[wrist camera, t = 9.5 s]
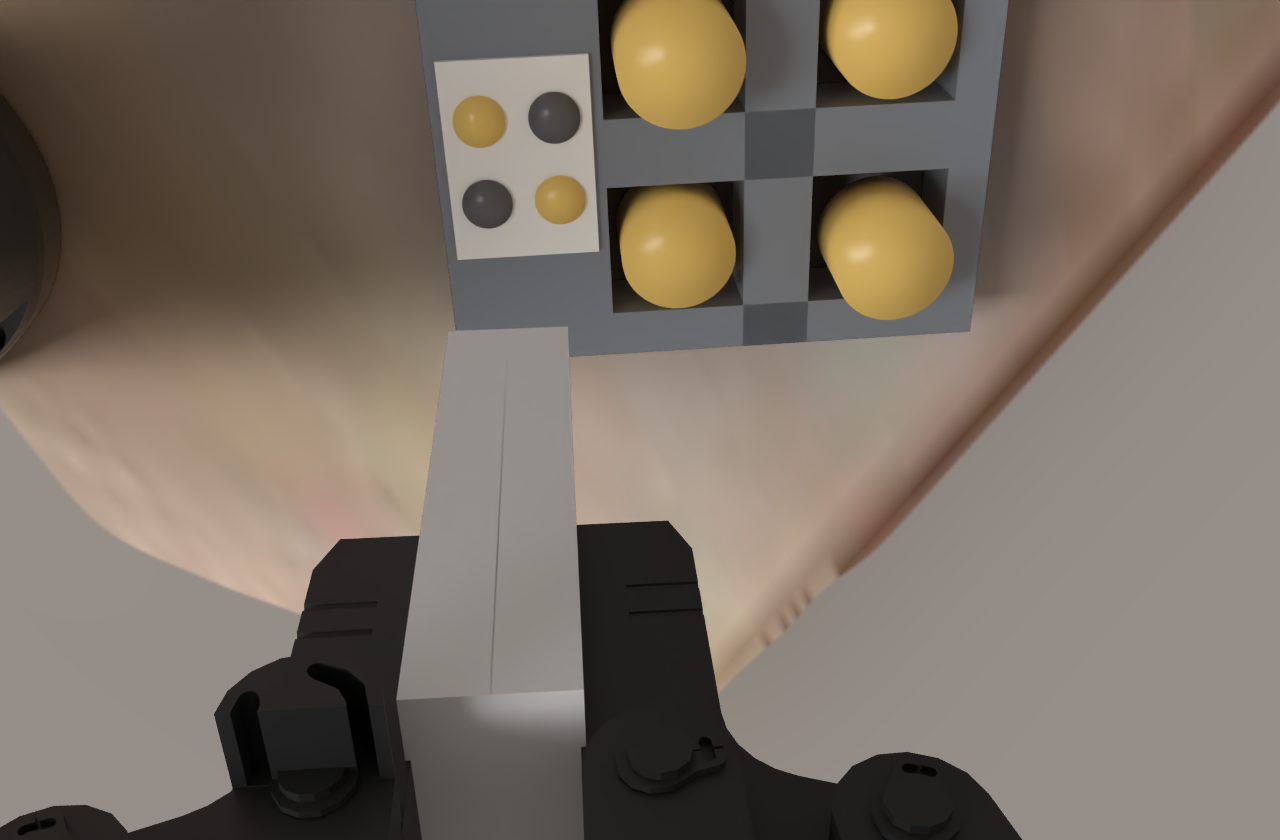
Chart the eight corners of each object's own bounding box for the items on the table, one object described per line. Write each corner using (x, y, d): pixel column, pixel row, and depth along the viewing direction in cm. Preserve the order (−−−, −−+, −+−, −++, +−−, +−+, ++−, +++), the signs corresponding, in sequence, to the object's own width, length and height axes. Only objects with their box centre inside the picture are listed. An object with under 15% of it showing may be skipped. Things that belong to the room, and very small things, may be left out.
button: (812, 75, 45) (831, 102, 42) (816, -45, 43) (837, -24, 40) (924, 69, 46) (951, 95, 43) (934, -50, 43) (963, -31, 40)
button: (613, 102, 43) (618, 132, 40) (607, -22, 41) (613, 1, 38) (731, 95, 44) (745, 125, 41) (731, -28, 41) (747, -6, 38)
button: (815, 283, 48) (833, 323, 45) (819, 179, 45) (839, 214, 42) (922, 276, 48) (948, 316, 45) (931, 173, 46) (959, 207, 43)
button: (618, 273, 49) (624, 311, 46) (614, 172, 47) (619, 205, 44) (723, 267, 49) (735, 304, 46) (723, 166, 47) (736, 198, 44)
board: (464, 329, 50) (459, 367, 47) (413, -92, 42) (404, -76, 39) (948, 298, 51) (972, 335, 48) (991, -120, 43) (1024, -106, 40)
